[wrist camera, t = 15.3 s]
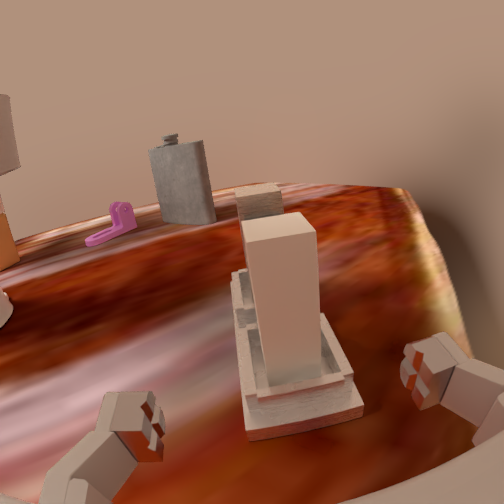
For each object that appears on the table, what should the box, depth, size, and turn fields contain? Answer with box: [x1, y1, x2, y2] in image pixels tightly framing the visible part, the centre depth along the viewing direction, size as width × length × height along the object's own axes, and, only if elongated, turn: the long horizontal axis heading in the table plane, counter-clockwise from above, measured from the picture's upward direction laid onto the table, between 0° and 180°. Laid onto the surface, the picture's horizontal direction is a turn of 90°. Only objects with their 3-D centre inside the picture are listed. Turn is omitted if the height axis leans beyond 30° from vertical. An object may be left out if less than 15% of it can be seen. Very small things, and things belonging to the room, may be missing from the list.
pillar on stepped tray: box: [230, 182, 364, 442], centre depth 28 cm, size 8×22×14 cm, turn 6°
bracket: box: [85, 202, 137, 246], centre depth 70 cm, size 13×6×7 cm, turn 141°
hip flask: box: [148, 134, 217, 225], centre depth 68 cm, size 16×4×20 cm, turn 58°
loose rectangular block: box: [241, 212, 321, 387], centre depth 22 cm, size 4×5×12 cm
